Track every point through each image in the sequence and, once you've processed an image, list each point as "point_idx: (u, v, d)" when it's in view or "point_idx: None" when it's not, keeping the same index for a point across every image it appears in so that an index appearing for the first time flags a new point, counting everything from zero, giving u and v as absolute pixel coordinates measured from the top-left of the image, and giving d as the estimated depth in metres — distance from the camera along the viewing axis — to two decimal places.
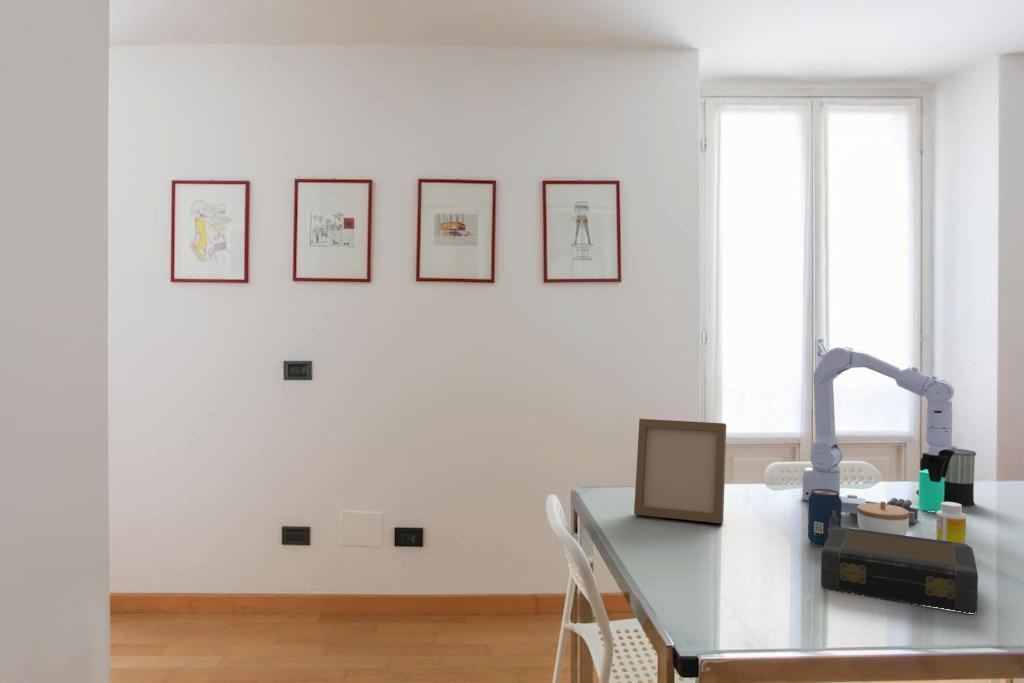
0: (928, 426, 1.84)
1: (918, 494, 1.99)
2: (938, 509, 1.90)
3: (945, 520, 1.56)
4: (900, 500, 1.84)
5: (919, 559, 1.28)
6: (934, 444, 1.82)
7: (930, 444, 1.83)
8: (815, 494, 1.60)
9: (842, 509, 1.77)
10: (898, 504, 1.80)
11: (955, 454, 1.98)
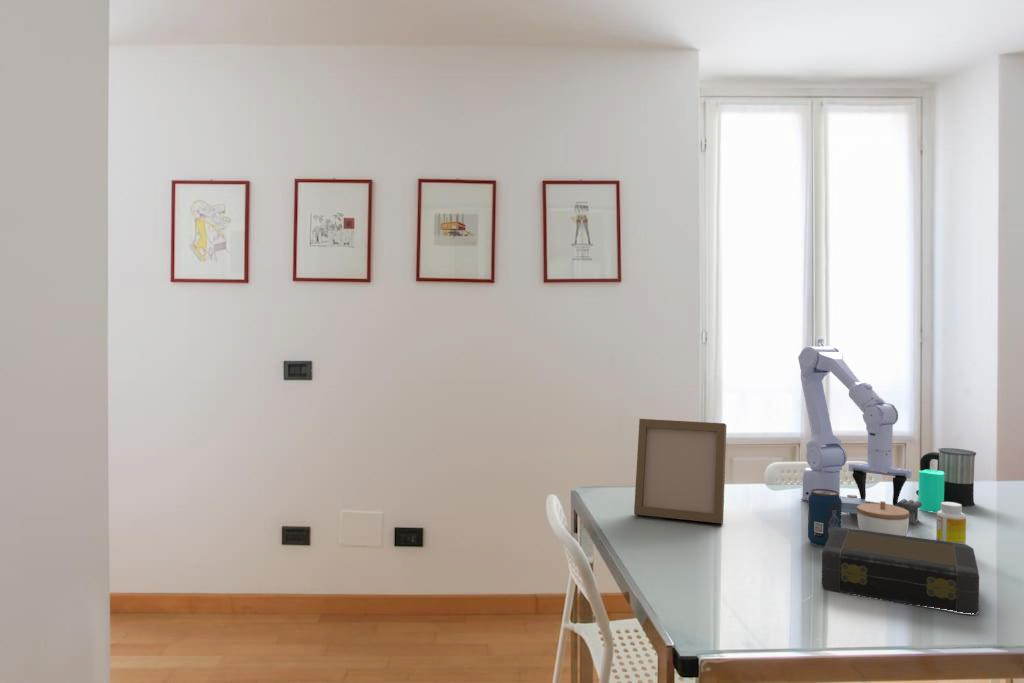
0: None
1: None
2: (938, 509, 1.90)
3: (945, 520, 1.56)
4: (909, 501, 1.82)
5: (920, 560, 1.28)
6: None
7: None
8: (815, 494, 1.60)
9: (842, 509, 1.77)
10: (906, 505, 1.79)
11: (955, 454, 1.97)
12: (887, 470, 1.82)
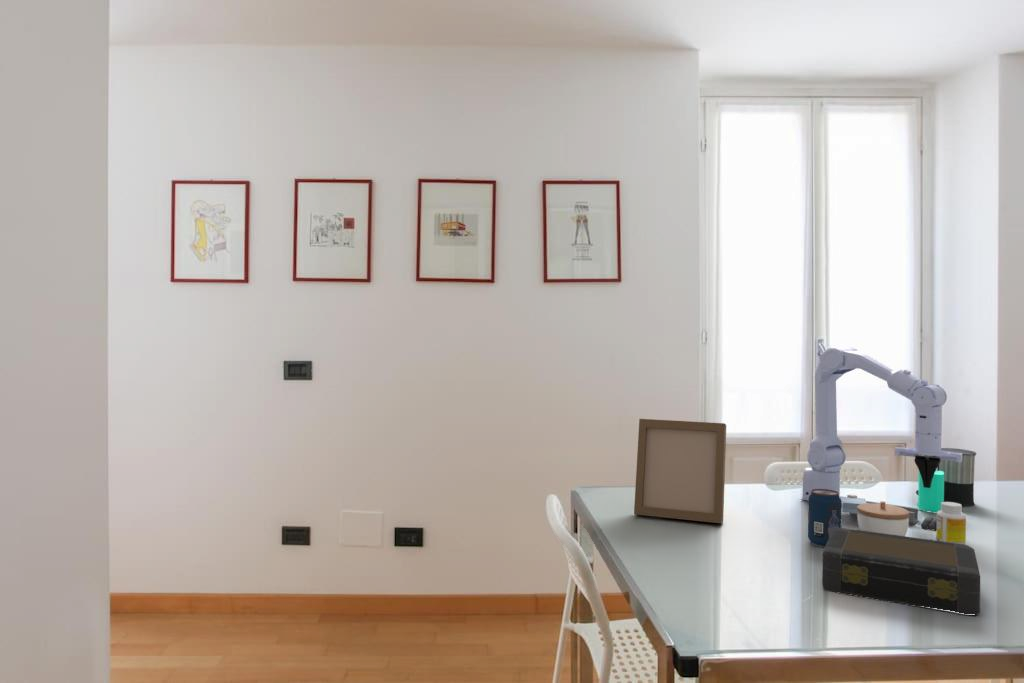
0: None
1: None
2: (938, 509, 1.90)
3: (945, 520, 1.56)
4: None
5: (921, 560, 1.28)
6: None
7: None
8: (815, 494, 1.60)
9: (844, 509, 1.76)
10: None
11: None
12: (937, 454, 1.75)
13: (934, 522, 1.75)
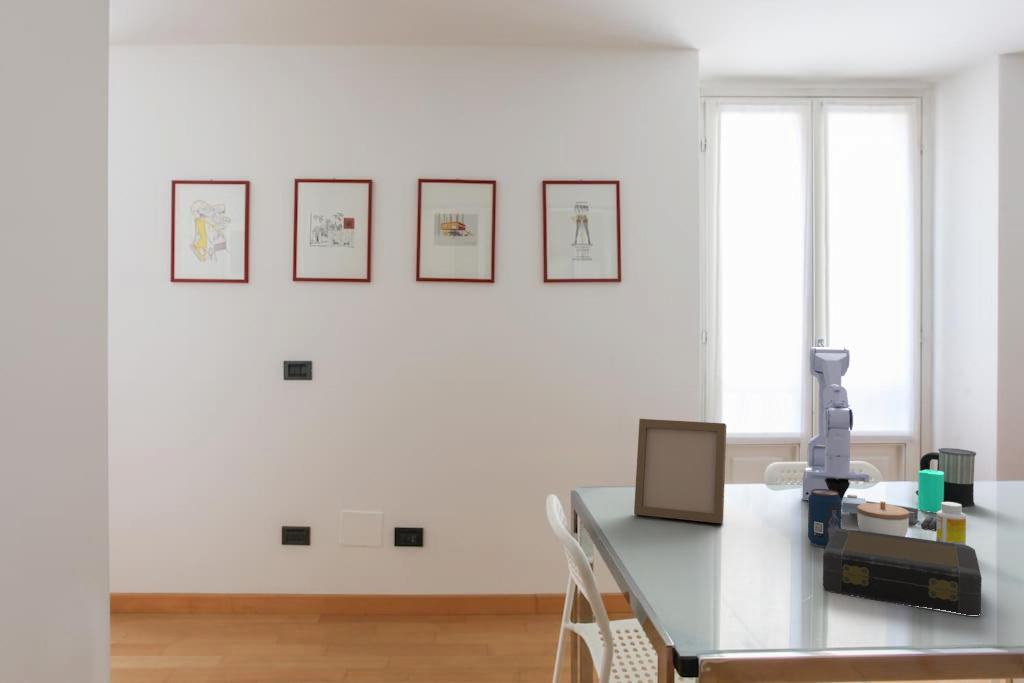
0: None
1: None
2: (938, 509, 1.89)
3: (945, 520, 1.56)
4: None
5: (922, 561, 1.27)
6: (824, 470, 1.80)
7: (825, 470, 1.81)
8: (815, 494, 1.60)
9: (844, 509, 1.76)
10: None
11: (955, 454, 1.97)
12: (849, 475, 1.76)
13: (934, 522, 1.75)
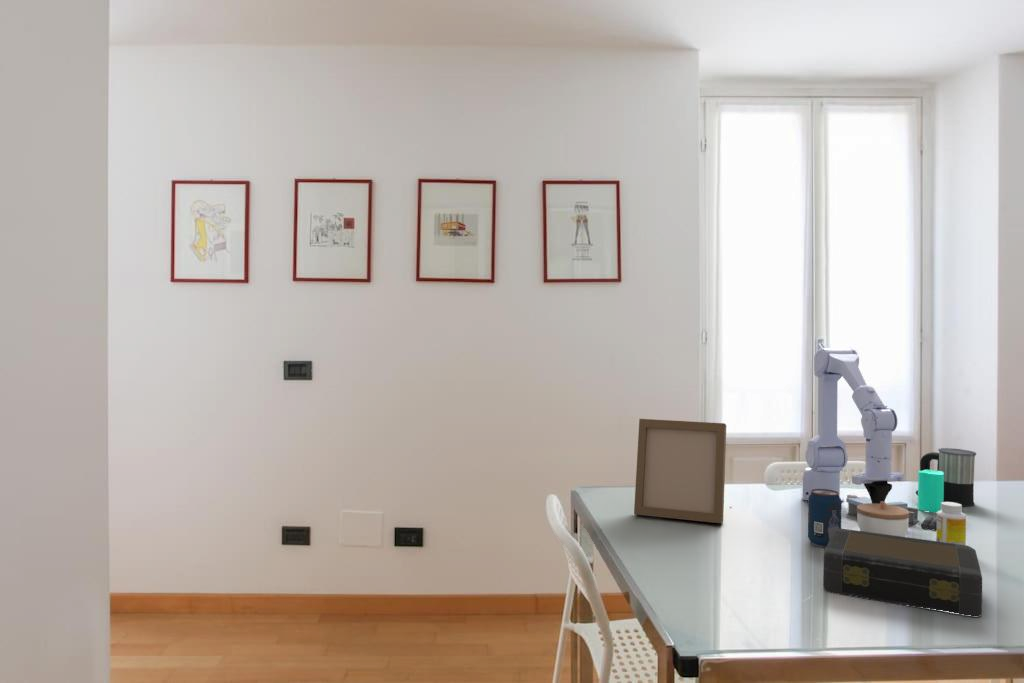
0: None
1: (917, 494, 1.98)
2: (938, 509, 1.89)
3: (945, 520, 1.56)
4: None
5: (923, 561, 1.27)
6: (867, 474, 1.76)
7: (865, 473, 1.77)
8: (815, 494, 1.60)
9: None
10: None
11: (955, 454, 1.97)
12: (893, 477, 1.75)
13: (934, 522, 1.75)
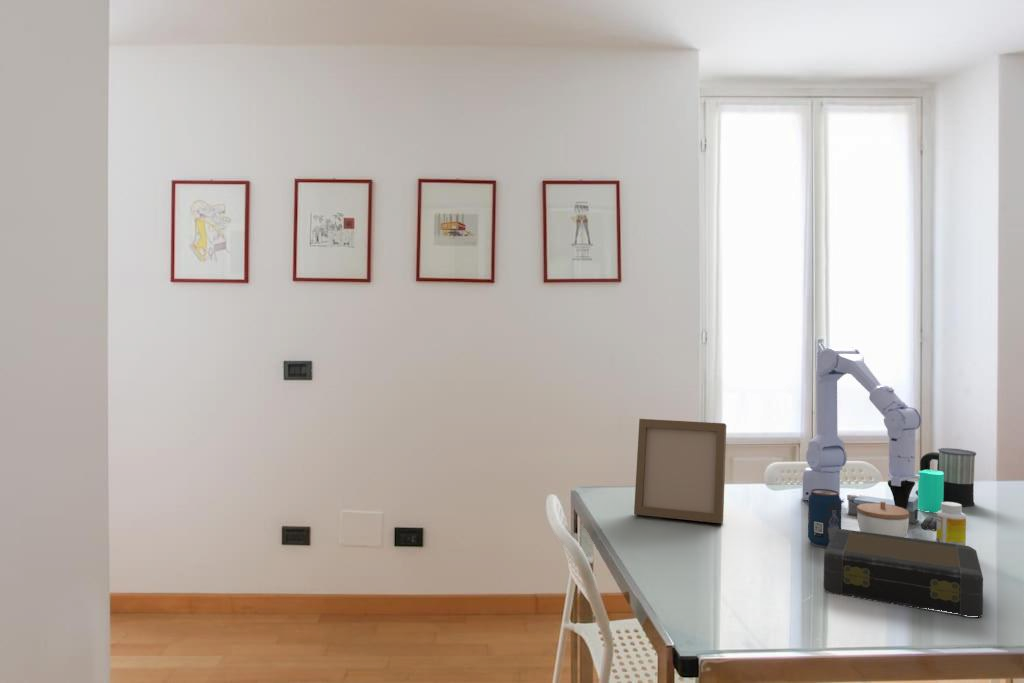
0: (891, 455, 1.78)
1: (917, 494, 1.98)
2: (937, 509, 1.89)
3: (945, 519, 1.56)
4: None
5: (923, 562, 1.27)
6: (897, 474, 1.76)
7: (893, 474, 1.77)
8: (815, 494, 1.60)
9: (913, 509, 1.77)
10: None
11: (955, 454, 1.97)
12: None
13: (934, 522, 1.75)
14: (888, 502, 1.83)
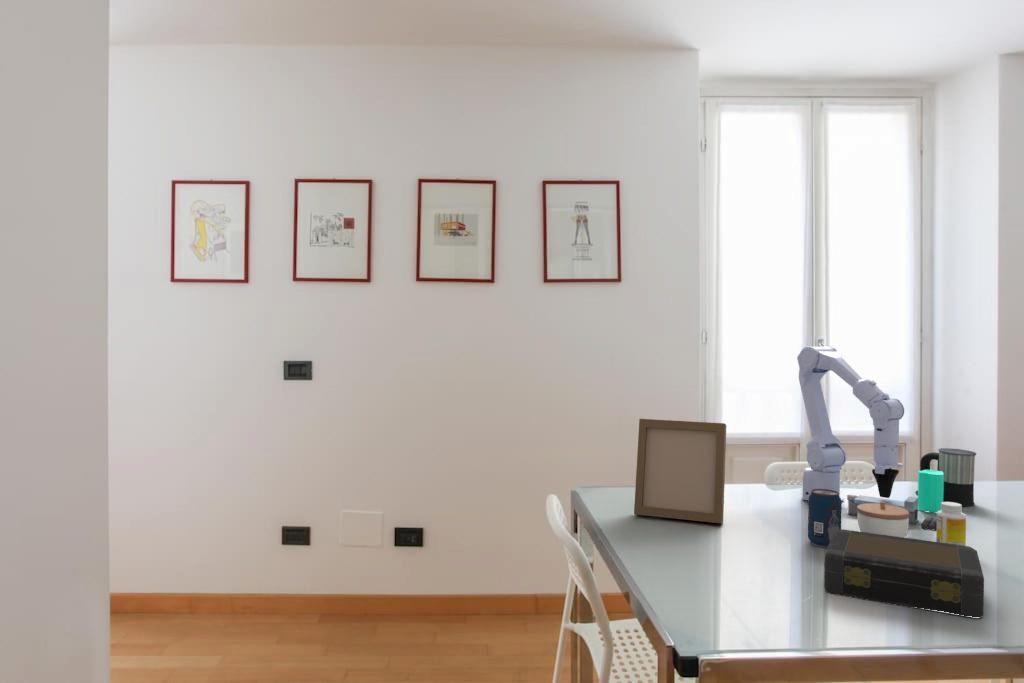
0: (875, 444, 1.85)
1: (917, 494, 1.98)
2: (937, 509, 1.89)
3: (945, 519, 1.56)
4: None
5: (924, 562, 1.27)
6: (881, 463, 1.83)
7: (877, 462, 1.84)
8: (815, 494, 1.60)
9: (913, 508, 1.78)
10: None
11: (955, 454, 1.97)
12: None
13: (934, 522, 1.75)
14: (888, 502, 1.83)
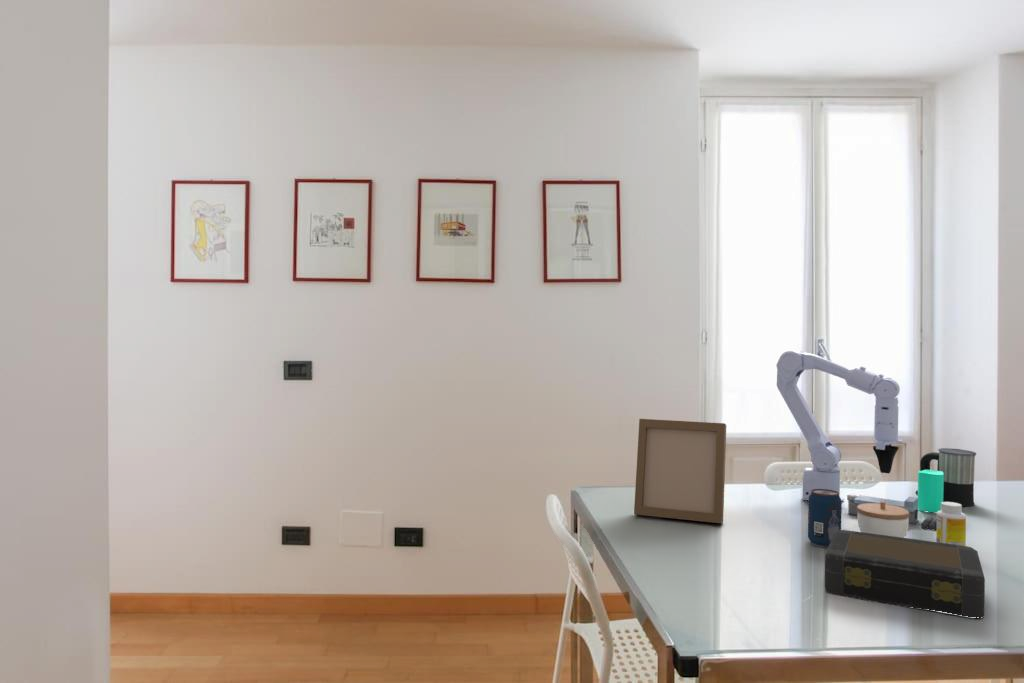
0: (876, 422, 1.93)
1: (917, 494, 1.98)
2: (937, 509, 1.89)
3: (945, 519, 1.56)
4: None
5: (925, 563, 1.26)
6: (881, 439, 1.91)
7: (878, 439, 1.92)
8: (815, 494, 1.60)
9: (913, 508, 1.78)
10: None
11: (955, 454, 1.97)
12: None
13: (934, 522, 1.75)
14: (888, 502, 1.83)
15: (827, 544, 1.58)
